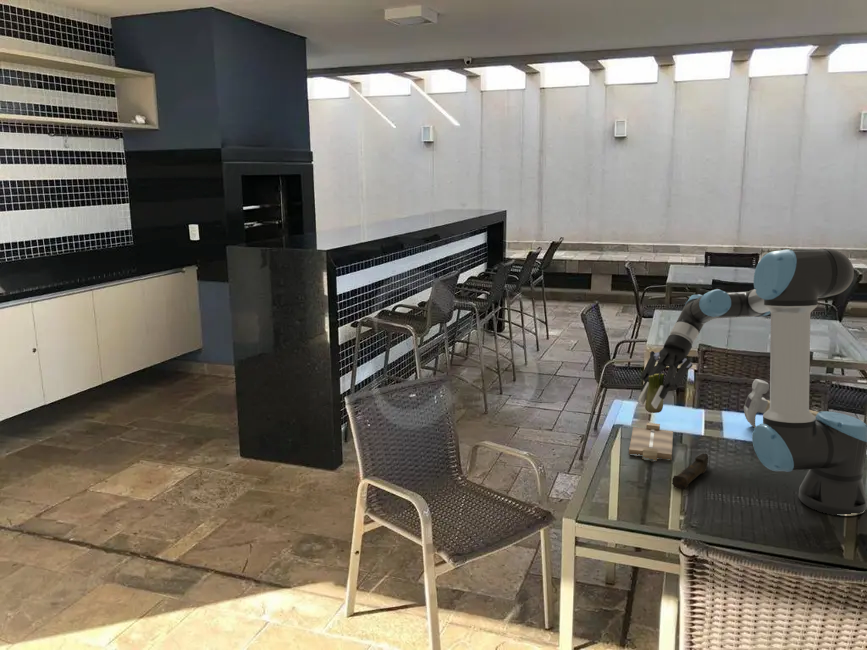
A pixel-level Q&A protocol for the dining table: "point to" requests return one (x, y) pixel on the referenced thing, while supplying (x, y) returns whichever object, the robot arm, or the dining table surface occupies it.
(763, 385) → the hammer
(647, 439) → the tan wooden board
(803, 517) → the dining table surface
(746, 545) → the dining table surface
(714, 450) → the dining table surface
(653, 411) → the fennel bulb
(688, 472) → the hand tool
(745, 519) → the dining table surface
